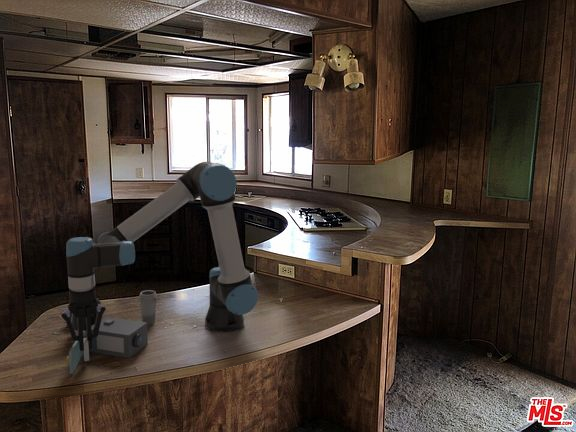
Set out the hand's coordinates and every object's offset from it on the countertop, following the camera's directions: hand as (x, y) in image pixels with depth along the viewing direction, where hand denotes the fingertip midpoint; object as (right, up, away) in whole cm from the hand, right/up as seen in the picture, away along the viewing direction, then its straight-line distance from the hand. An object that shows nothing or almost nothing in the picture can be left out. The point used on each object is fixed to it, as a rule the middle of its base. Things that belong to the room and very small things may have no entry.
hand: (86, 358), depth 144 cm
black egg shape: (-10, +2, +22) cm, 24 cm away
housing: (+5, 0, +13) cm, 14 cm away
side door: (-4, -1, +1) cm, 4 cm away
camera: (-15, +4, +35) cm, 38 cm away
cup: (+9, +3, +35) cm, 36 cm away
